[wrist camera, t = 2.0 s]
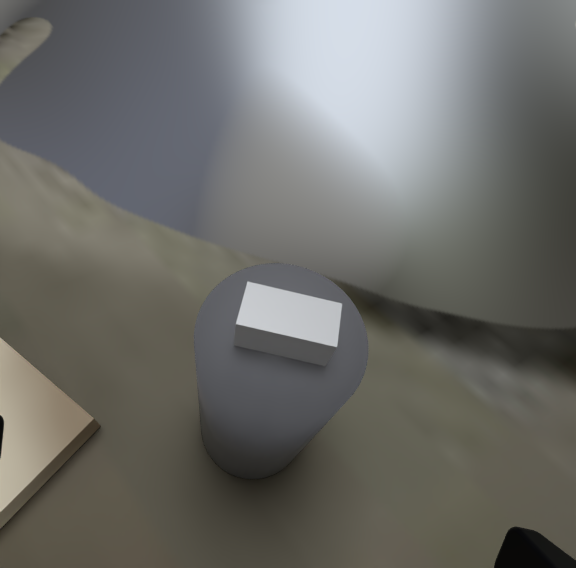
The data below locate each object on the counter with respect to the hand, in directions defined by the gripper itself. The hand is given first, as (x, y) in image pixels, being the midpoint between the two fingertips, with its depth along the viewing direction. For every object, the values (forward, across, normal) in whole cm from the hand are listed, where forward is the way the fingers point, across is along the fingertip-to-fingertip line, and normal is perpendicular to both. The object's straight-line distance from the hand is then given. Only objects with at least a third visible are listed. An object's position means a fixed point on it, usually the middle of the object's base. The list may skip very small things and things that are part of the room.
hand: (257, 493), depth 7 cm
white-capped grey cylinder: (+10, 0, +5) cm, 11 cm away
